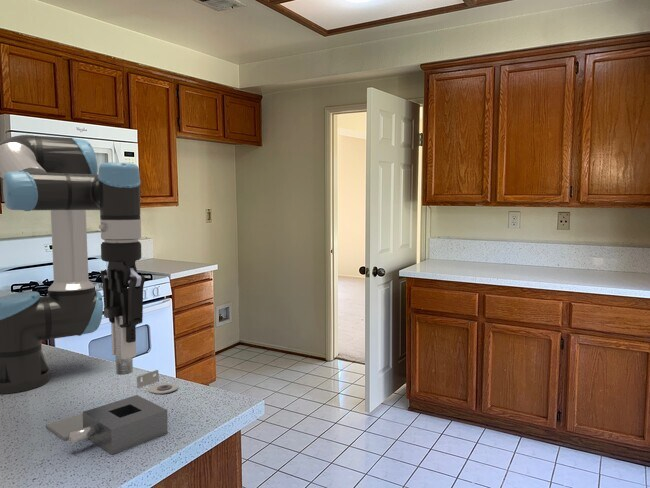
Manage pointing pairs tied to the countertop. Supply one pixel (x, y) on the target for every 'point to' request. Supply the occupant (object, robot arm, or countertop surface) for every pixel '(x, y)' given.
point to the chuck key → (119, 340)
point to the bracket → (150, 379)
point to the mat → (66, 426)
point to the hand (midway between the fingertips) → (124, 355)
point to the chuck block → (122, 424)
